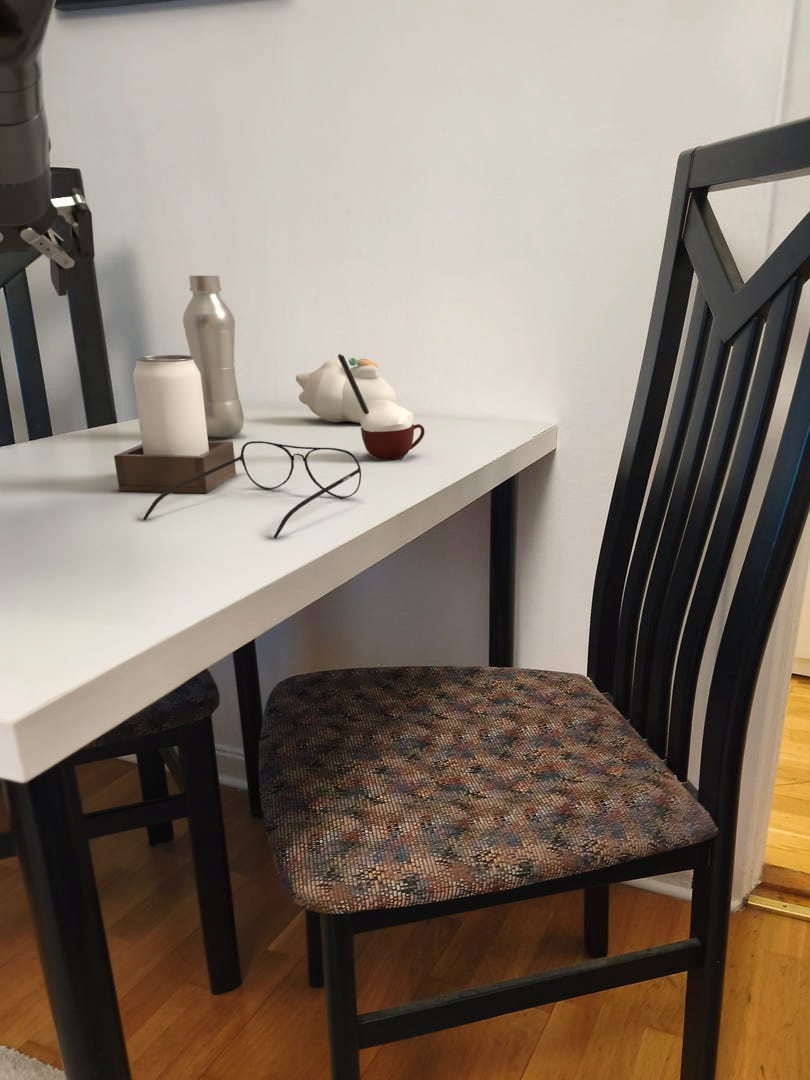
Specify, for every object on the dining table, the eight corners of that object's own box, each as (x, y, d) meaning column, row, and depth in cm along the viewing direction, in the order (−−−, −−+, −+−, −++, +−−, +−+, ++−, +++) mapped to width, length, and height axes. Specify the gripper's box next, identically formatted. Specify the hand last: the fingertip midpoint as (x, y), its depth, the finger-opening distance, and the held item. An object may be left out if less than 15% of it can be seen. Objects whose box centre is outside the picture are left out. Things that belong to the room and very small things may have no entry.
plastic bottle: (184, 440, 117) (165, 275, 109) (213, 431, 123) (197, 275, 115) (228, 443, 115) (211, 276, 107) (255, 434, 121) (241, 275, 113)
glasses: (366, 500, 87) (361, 450, 85) (279, 557, 75) (270, 501, 73) (246, 486, 92) (238, 438, 90) (146, 537, 80) (134, 484, 78)
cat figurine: (401, 356, 128) (300, 341, 129) (389, 391, 123) (284, 376, 124) (403, 408, 136) (308, 394, 137) (391, 444, 131) (292, 429, 132)
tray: (118, 491, 90) (113, 455, 88) (155, 472, 98) (151, 439, 97) (207, 493, 89) (203, 457, 88) (236, 474, 98) (233, 441, 96)
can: (196, 467, 98) (183, 353, 93) (222, 478, 93) (209, 358, 88) (137, 475, 94) (120, 356, 89) (161, 486, 89) (145, 361, 84)
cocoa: (425, 452, 110) (424, 351, 105) (421, 462, 104) (419, 355, 100) (349, 451, 110) (344, 350, 106) (340, 461, 104) (335, 355, 100)
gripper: (71, 105, 73) (74, 255, 87) (-127, 110, 66) (-90, 272, 79) (107, 174, 71) (104, 316, 85) (-91, 187, 64) (-60, 339, 78)
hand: (10, 295), depth 82 cm, fingers open, 8 cm apart
